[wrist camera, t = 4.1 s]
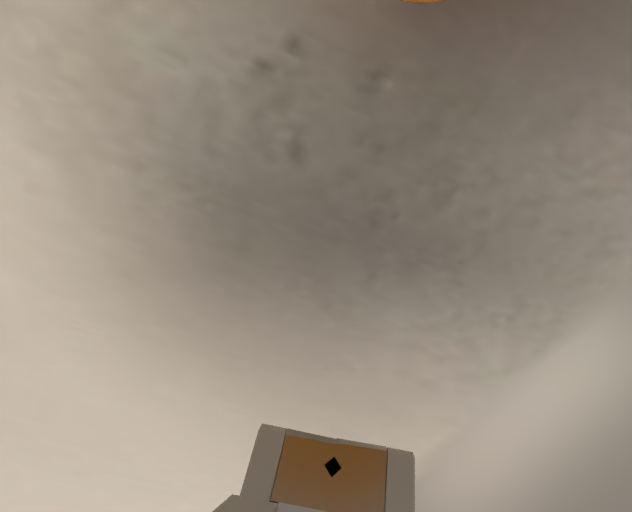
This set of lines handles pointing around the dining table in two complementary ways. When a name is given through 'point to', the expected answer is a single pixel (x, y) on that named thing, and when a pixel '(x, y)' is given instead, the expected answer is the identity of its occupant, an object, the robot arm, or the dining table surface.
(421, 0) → the ball
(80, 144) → the dining table surface
